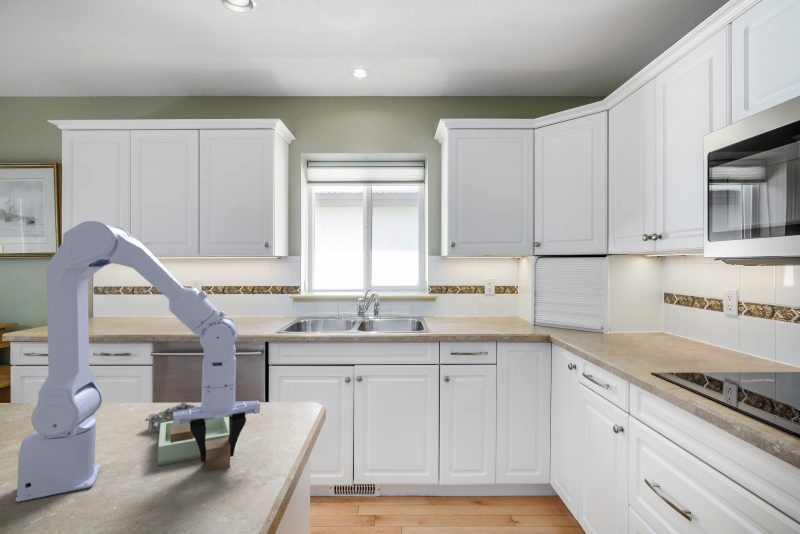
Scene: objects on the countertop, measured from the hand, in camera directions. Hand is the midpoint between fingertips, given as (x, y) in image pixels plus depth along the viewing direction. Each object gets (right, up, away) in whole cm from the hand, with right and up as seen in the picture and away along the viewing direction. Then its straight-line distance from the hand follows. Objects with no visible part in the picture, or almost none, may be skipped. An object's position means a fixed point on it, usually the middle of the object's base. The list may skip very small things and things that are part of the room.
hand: (217, 457), depth 73 cm
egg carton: (-19, -2, +19) cm, 26 cm away
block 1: (-9, -1, +5) cm, 10 cm away
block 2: (0, -1, 0) cm, 1 cm away
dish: (-8, -1, +8) cm, 11 cm away
